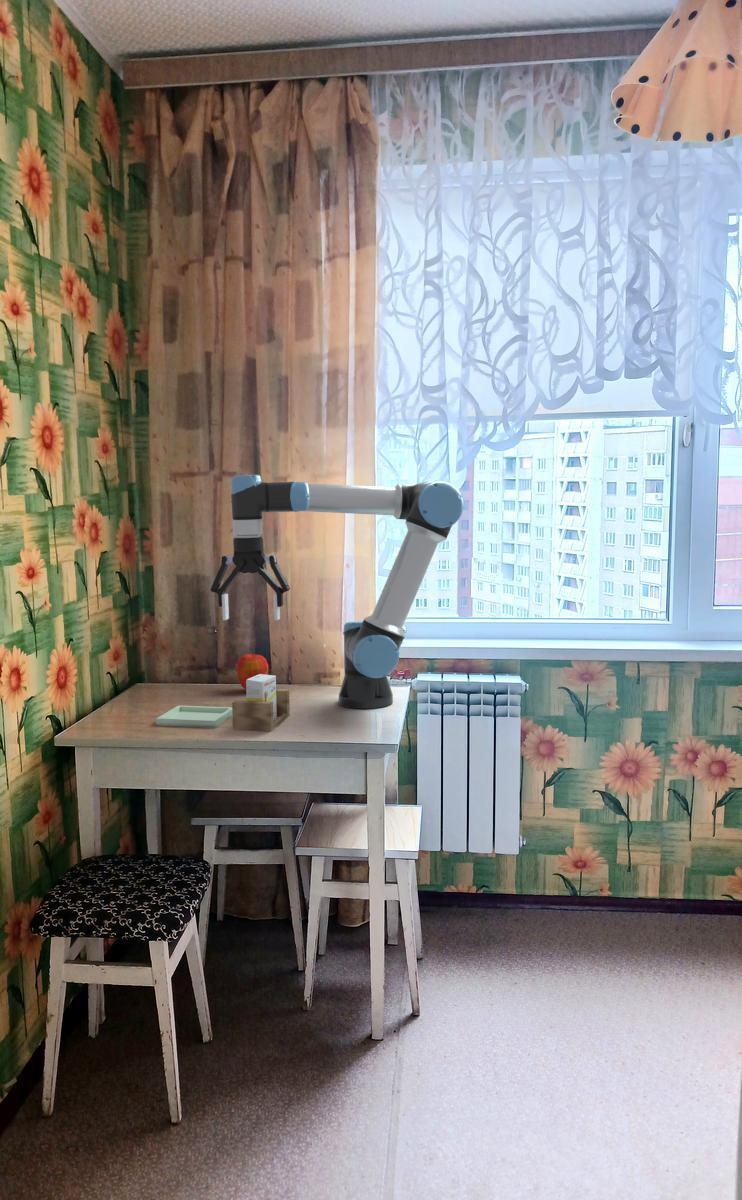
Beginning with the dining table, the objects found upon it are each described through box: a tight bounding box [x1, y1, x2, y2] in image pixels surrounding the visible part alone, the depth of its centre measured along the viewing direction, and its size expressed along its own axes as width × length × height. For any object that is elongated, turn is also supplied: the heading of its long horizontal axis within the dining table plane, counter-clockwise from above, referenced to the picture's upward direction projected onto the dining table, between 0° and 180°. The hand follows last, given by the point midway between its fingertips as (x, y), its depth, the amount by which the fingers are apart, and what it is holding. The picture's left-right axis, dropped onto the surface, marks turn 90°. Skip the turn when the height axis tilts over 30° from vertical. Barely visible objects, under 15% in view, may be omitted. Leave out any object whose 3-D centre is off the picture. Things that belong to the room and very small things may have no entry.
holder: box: [231, 688, 291, 732], centre depth 235 cm, size 10×16×7 cm, turn 168°
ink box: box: [245, 674, 278, 721], centre depth 234 cm, size 9×5×12 cm, turn 161°
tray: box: [155, 705, 233, 729], centre depth 239 cm, size 16×14×2 cm
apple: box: [236, 652, 269, 690], centre depth 270 cm, size 9×9×12 cm
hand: (251, 619), depth 234 cm, fingers open, 13 cm apart
